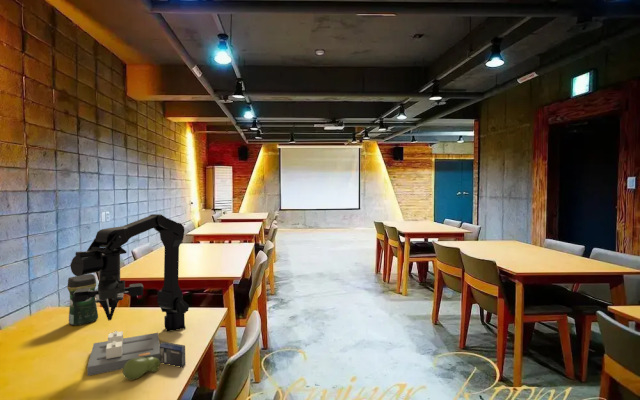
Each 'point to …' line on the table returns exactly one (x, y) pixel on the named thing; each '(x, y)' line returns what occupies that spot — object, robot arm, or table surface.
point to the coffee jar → (82, 310)
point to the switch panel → (123, 353)
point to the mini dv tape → (172, 354)
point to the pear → (140, 366)
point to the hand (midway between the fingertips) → (109, 320)
